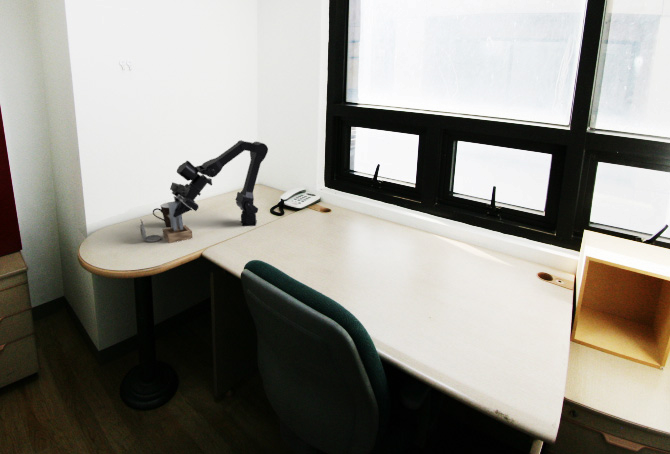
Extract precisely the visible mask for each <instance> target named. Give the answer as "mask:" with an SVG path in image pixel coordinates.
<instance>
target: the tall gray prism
mask: <svg viewBox="0 0 670 454" xmlns="http://www.w3.org/2000/svg"><path fill="white" fill-rule="evenodd" d="M167 203H168V205H169V213H170V222H171V229H172V230H173V231H177V228H178V229H179V230H183V225H184V223H183V221H184V220H183V214H181V215H179V216H177V217H174V216H173V215H174V213H175V211H176V210H177V209H178V207H179V202H178V201H175V200H174V201H168V202H167ZM176 220H177V223H176Z"/></svg>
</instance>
